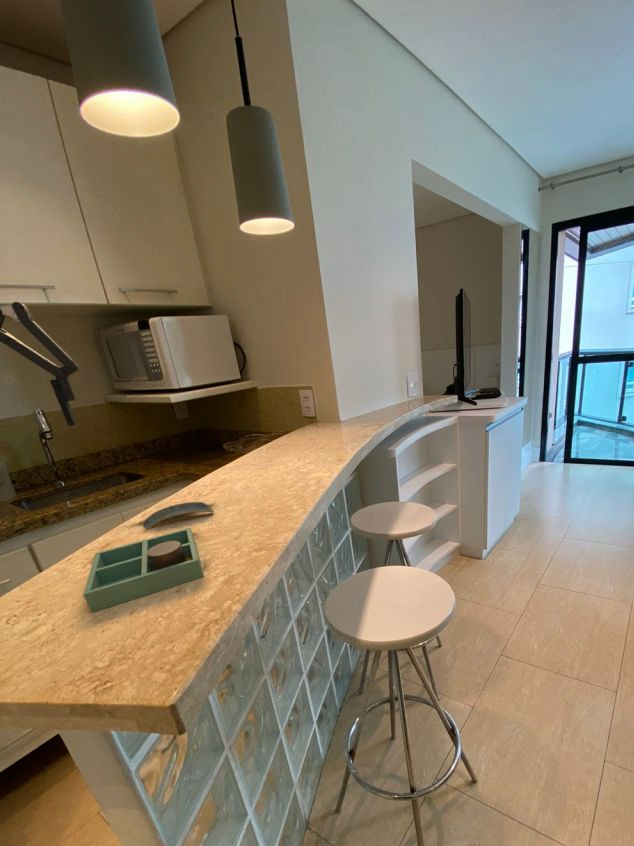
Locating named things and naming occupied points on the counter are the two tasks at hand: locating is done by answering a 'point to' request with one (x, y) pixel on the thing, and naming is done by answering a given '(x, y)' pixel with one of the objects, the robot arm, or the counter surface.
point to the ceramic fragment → (175, 512)
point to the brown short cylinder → (166, 555)
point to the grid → (138, 571)
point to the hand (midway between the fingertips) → (17, 433)
